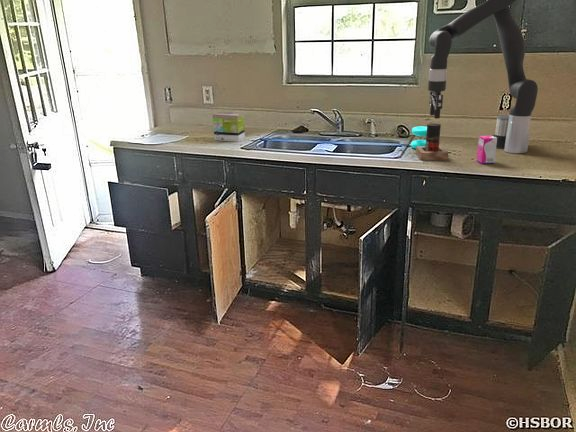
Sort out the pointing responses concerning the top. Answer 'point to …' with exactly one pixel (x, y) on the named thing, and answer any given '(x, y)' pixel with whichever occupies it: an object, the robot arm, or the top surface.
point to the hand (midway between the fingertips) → (434, 116)
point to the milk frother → (501, 131)
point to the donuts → (419, 132)
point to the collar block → (431, 154)
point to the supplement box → (486, 149)
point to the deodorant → (432, 137)
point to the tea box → (229, 126)
